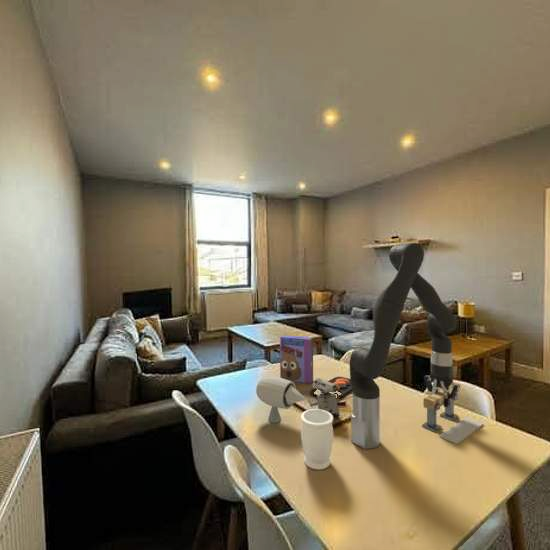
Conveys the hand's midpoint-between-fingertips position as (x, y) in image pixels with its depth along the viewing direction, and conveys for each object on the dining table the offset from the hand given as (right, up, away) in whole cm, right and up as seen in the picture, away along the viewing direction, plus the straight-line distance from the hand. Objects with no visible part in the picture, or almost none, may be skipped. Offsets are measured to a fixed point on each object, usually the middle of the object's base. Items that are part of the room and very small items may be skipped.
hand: (441, 404), depth 123 cm
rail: (0, +1, 0) cm, 1 cm away
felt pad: (+5, -7, -6) cm, 11 cm away
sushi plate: (-30, -7, +28) cm, 42 cm away
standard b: (+6, -7, +4) cm, 10 cm away
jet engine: (-65, -8, +2) cm, 65 cm away
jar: (-53, -9, -24) cm, 58 cm away
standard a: (-6, -7, -4) cm, 10 cm away
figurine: (-46, -7, +6) cm, 47 cm away
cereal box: (-55, -6, +46) cm, 72 cm away
